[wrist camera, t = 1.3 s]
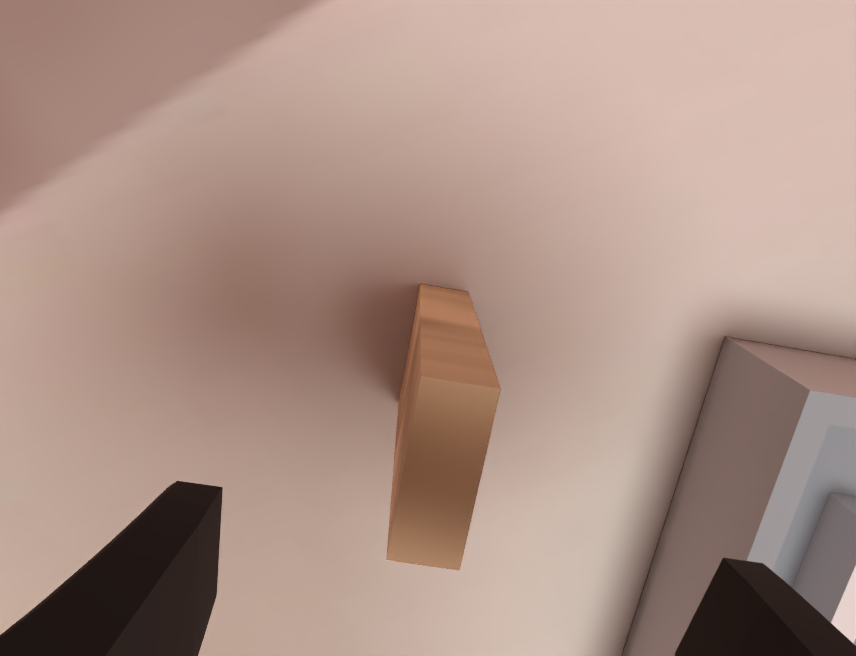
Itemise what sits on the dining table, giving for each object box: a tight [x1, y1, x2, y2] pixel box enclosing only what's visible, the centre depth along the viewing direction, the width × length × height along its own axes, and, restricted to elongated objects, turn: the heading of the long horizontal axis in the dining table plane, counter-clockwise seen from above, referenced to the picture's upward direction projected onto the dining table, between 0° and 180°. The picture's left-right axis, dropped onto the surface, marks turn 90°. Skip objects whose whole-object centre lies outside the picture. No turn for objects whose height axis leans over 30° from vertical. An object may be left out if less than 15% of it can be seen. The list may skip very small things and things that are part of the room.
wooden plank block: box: [386, 284, 501, 570], centre depth 16 cm, size 4×2×8 cm, turn 170°
